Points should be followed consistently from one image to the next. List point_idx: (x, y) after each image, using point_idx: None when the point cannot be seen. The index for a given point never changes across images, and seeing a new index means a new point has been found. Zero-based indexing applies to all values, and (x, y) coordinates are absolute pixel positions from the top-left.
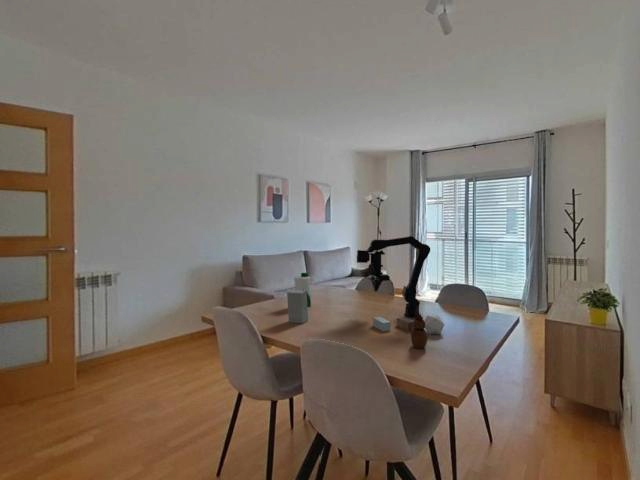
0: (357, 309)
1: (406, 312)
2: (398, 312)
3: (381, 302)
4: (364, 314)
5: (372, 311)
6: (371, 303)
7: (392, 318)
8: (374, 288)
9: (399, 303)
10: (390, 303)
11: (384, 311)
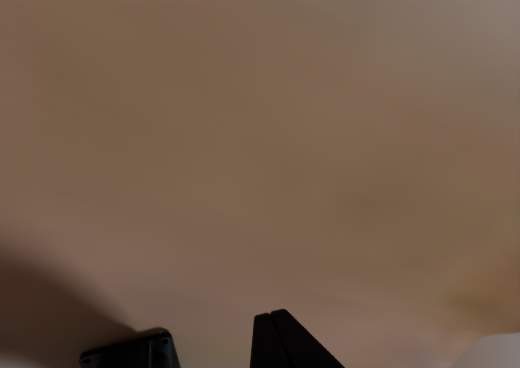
0: (446, 48)
1: (124, 359)
2: (236, 312)
3: (488, 278)
4: (266, 41)
5: (331, 154)
6: (511, 218)
7: (73, 237)
8: (291, 360)
9: (413, 353)
10: (440, 316)
11: (294, 238)
